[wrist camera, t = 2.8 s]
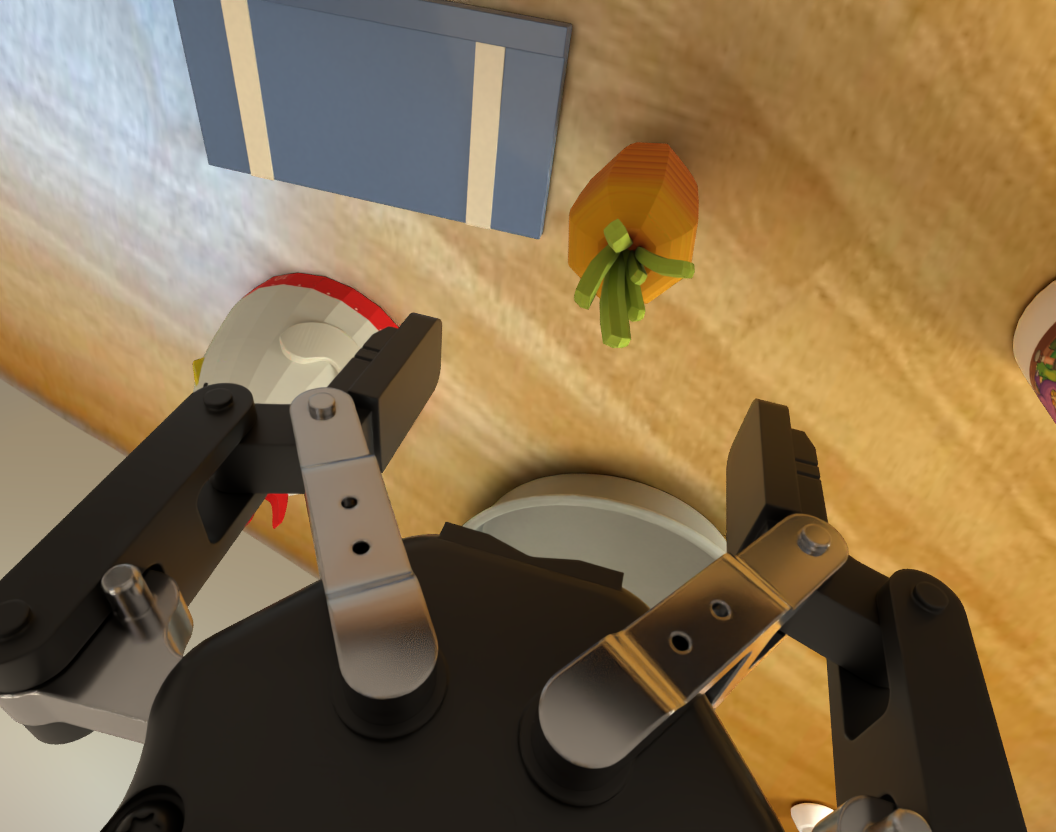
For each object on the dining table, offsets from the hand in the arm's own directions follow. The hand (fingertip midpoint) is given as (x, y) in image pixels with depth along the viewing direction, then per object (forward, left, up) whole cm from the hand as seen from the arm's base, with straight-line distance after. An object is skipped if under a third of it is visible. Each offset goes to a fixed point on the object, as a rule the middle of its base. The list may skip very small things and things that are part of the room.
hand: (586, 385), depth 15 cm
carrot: (0, 0, -20) cm, 20 cm away
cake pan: (+32, +4, -20) cm, 38 cm away
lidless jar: (+64, +35, -20) cm, 75 cm away
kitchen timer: (+18, -19, -20) cm, 33 cm away
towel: (0, -15, -19) cm, 24 cm away
